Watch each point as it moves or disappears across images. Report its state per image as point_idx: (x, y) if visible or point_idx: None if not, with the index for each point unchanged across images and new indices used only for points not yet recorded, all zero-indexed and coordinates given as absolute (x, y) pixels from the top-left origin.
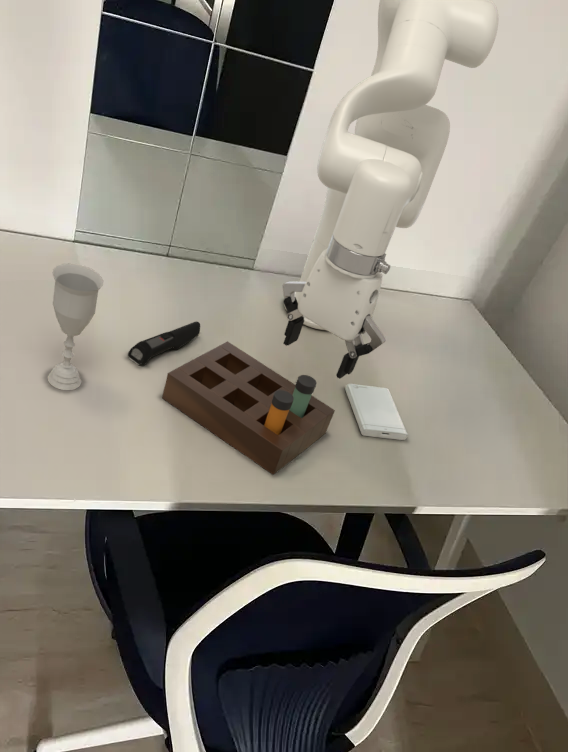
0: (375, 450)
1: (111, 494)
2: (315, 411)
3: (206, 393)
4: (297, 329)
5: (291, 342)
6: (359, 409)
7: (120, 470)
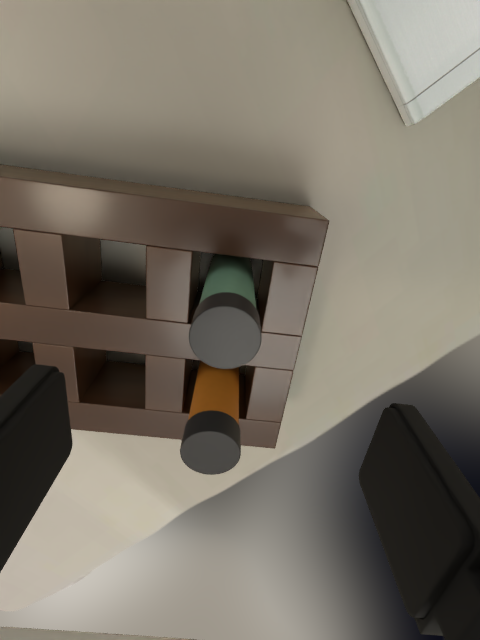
0: (454, 159)
1: (123, 544)
2: (280, 276)
3: None
4: (16, 478)
5: (65, 428)
6: (380, 18)
7: (98, 517)
